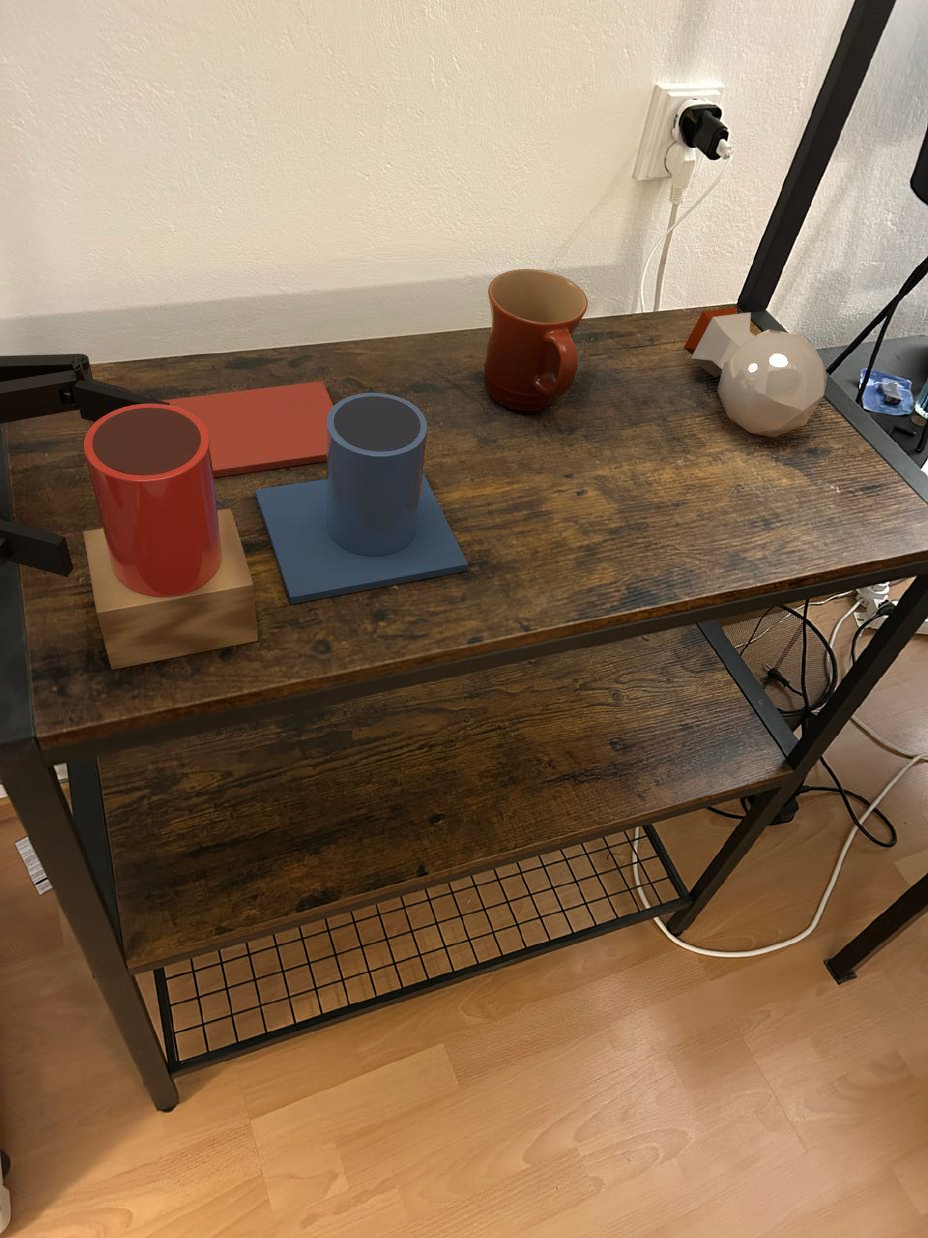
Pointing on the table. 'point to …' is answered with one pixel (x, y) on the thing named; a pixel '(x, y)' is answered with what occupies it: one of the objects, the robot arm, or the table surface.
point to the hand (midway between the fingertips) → (122, 485)
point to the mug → (532, 338)
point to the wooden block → (174, 607)
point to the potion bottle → (758, 372)
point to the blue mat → (330, 569)
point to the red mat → (263, 426)
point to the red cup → (155, 497)
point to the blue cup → (374, 473)
